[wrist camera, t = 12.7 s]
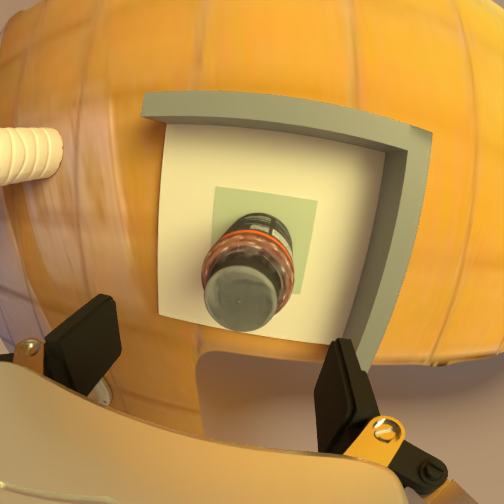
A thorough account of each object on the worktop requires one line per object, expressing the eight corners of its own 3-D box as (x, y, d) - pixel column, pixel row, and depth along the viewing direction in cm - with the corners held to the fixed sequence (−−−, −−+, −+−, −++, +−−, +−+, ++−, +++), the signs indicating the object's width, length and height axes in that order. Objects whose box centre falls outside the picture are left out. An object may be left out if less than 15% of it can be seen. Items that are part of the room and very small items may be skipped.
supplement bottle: (239, 281, 26) (207, 354, 16) (218, 222, 25) (167, 264, 14) (300, 265, 25) (306, 335, 14) (281, 202, 24) (276, 232, 13)
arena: (354, 342, 28) (365, 377, 22) (162, 310, 30) (139, 339, 24) (402, 138, 21) (432, 132, 16) (173, 105, 23) (144, 92, 17)
